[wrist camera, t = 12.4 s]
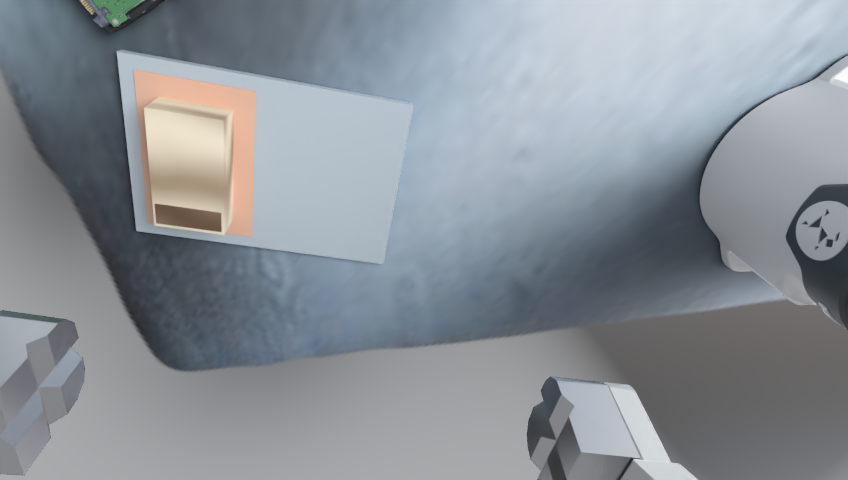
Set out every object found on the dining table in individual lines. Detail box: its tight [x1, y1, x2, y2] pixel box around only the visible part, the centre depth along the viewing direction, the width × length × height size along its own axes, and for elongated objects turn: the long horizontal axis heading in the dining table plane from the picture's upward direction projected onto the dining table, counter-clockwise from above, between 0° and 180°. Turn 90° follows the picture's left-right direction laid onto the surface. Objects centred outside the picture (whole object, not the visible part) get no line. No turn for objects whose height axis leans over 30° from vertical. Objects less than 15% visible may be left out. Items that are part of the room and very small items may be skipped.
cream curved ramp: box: [144, 97, 234, 235], centre depth 37 cm, size 9×5×3 cm, turn 169°
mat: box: [117, 50, 414, 264], centre depth 39 cm, size 20×14×1 cm
